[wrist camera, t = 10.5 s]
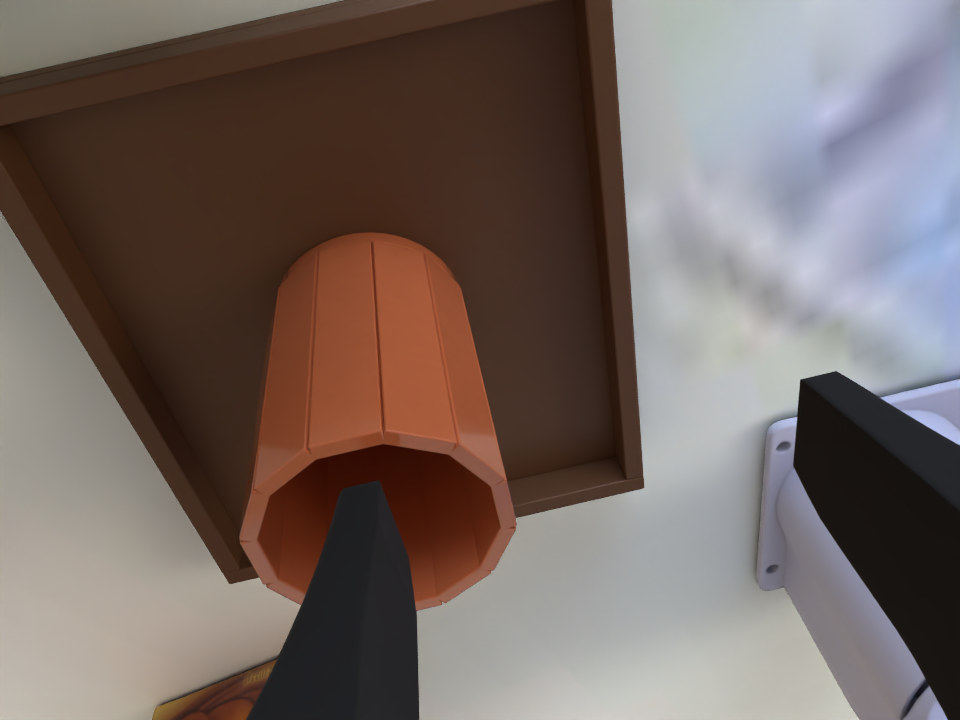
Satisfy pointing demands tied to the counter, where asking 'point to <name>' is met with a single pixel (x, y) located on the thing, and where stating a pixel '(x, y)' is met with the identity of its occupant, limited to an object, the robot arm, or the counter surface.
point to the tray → (340, 221)
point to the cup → (375, 418)
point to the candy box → (219, 698)
